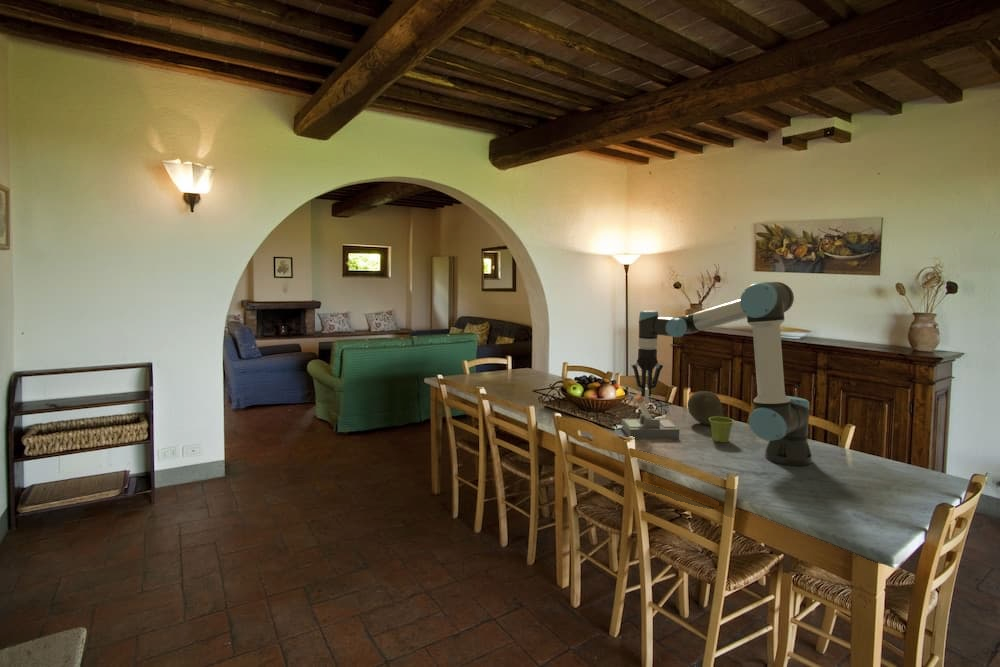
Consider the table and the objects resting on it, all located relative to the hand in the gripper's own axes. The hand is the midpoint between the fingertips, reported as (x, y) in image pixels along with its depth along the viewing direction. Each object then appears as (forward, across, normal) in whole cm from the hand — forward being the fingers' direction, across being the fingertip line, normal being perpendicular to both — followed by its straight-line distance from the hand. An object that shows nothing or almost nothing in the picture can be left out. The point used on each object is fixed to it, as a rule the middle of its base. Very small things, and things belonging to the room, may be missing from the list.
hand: (645, 403), depth 235 cm
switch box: (+13, -2, 0) cm, 13 cm away
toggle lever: (+8, -2, 0) cm, 9 cm away
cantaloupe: (+13, -30, -13) cm, 35 cm away
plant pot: (+13, -28, +10) cm, 32 cm away
